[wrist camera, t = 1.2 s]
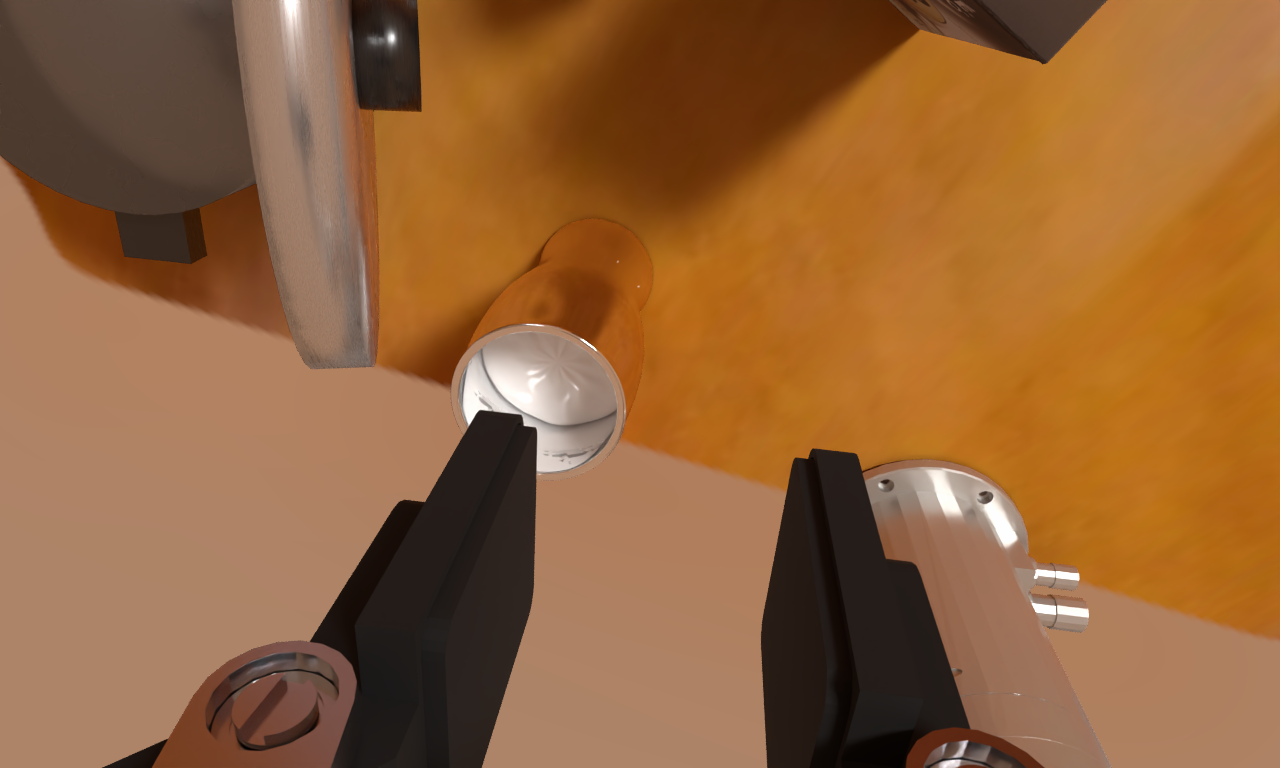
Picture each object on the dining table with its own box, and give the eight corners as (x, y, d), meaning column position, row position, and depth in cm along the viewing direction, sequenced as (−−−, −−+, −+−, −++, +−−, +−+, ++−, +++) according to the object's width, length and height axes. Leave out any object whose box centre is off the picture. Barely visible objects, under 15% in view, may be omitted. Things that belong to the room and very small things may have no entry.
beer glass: (617, 357, 45) (571, 515, 32) (508, 290, 44) (413, 425, 31) (687, 257, 42) (668, 386, 29) (573, 182, 41) (499, 280, 28)
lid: (276, -276, 26) (401, -257, 27) (327, 244, 33) (423, 244, 34) (85, -619, 10) (402, -544, 11) (263, 502, 18) (441, 488, 19)
